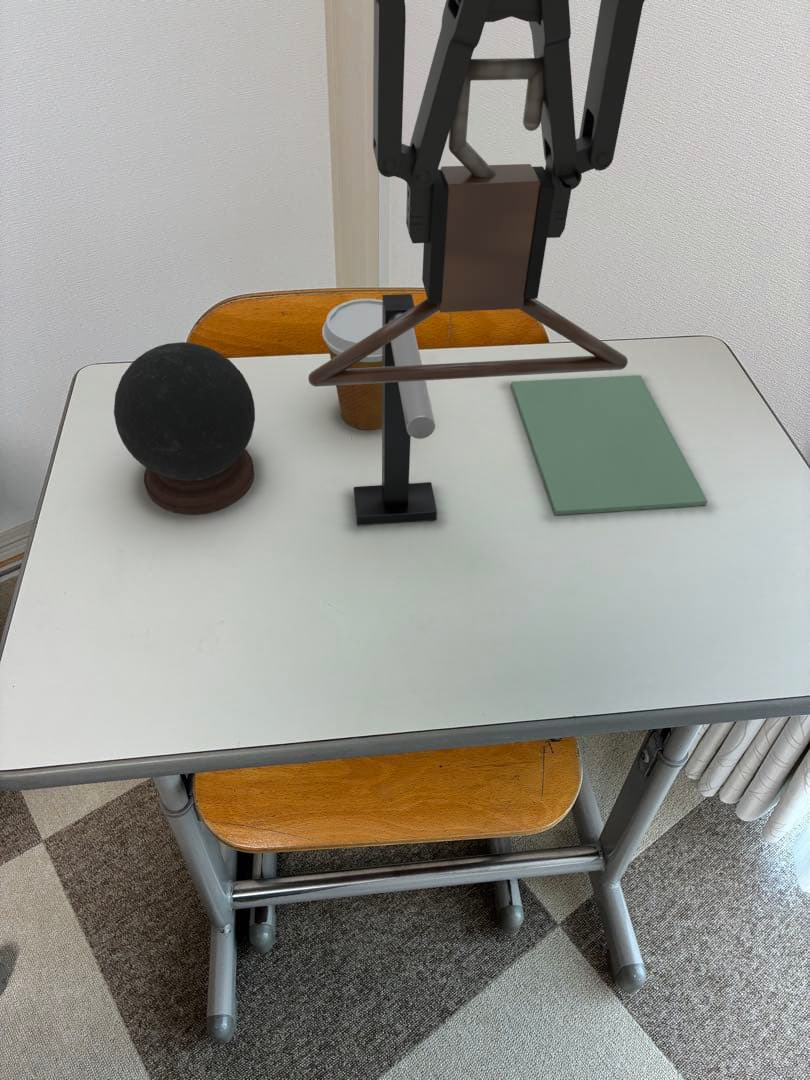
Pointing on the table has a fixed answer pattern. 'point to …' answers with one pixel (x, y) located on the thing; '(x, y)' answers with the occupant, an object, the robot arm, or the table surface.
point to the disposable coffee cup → (342, 333)
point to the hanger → (481, 256)
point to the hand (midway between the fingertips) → (479, 288)
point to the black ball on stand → (187, 426)
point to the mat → (604, 446)
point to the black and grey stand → (399, 434)
